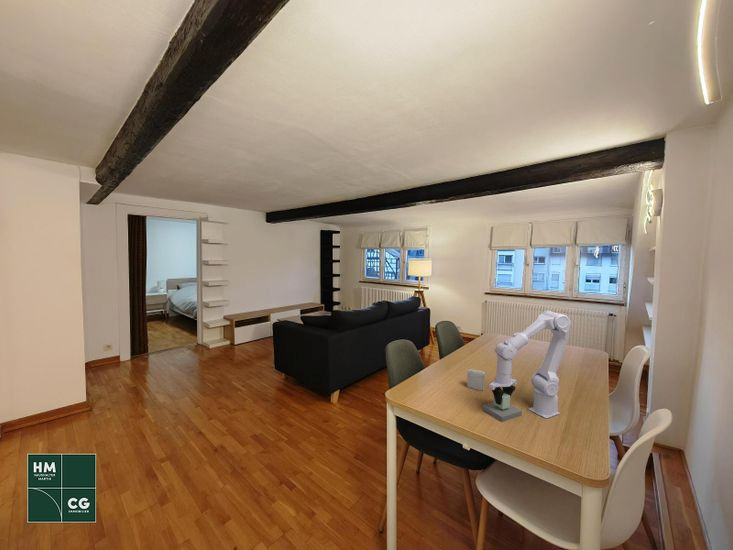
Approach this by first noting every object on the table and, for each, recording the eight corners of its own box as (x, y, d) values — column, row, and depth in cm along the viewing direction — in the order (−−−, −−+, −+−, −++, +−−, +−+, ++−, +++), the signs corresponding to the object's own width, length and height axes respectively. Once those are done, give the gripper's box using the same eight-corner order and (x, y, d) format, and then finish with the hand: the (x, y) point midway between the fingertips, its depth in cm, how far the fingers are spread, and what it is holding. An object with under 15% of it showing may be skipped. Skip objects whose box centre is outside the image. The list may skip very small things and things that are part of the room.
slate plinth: (501, 404, 130) (501, 400, 130) (521, 415, 121) (521, 410, 121) (482, 409, 125) (482, 405, 124) (501, 421, 116) (502, 417, 115)
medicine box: (484, 388, 146) (485, 371, 145) (483, 391, 142) (484, 374, 141) (468, 384, 150) (469, 368, 149) (466, 387, 146) (467, 371, 145)
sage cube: (500, 402, 126) (501, 391, 125) (509, 407, 122) (510, 395, 121) (493, 404, 124) (494, 393, 123) (502, 409, 120) (503, 397, 119)
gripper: (507, 366, 128) (505, 395, 129) (484, 370, 122) (482, 401, 123) (521, 371, 122) (519, 402, 123) (497, 377, 116) (496, 409, 116)
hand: (502, 402), depth 122 cm, fingers closed on sage cube, 4 cm apart
